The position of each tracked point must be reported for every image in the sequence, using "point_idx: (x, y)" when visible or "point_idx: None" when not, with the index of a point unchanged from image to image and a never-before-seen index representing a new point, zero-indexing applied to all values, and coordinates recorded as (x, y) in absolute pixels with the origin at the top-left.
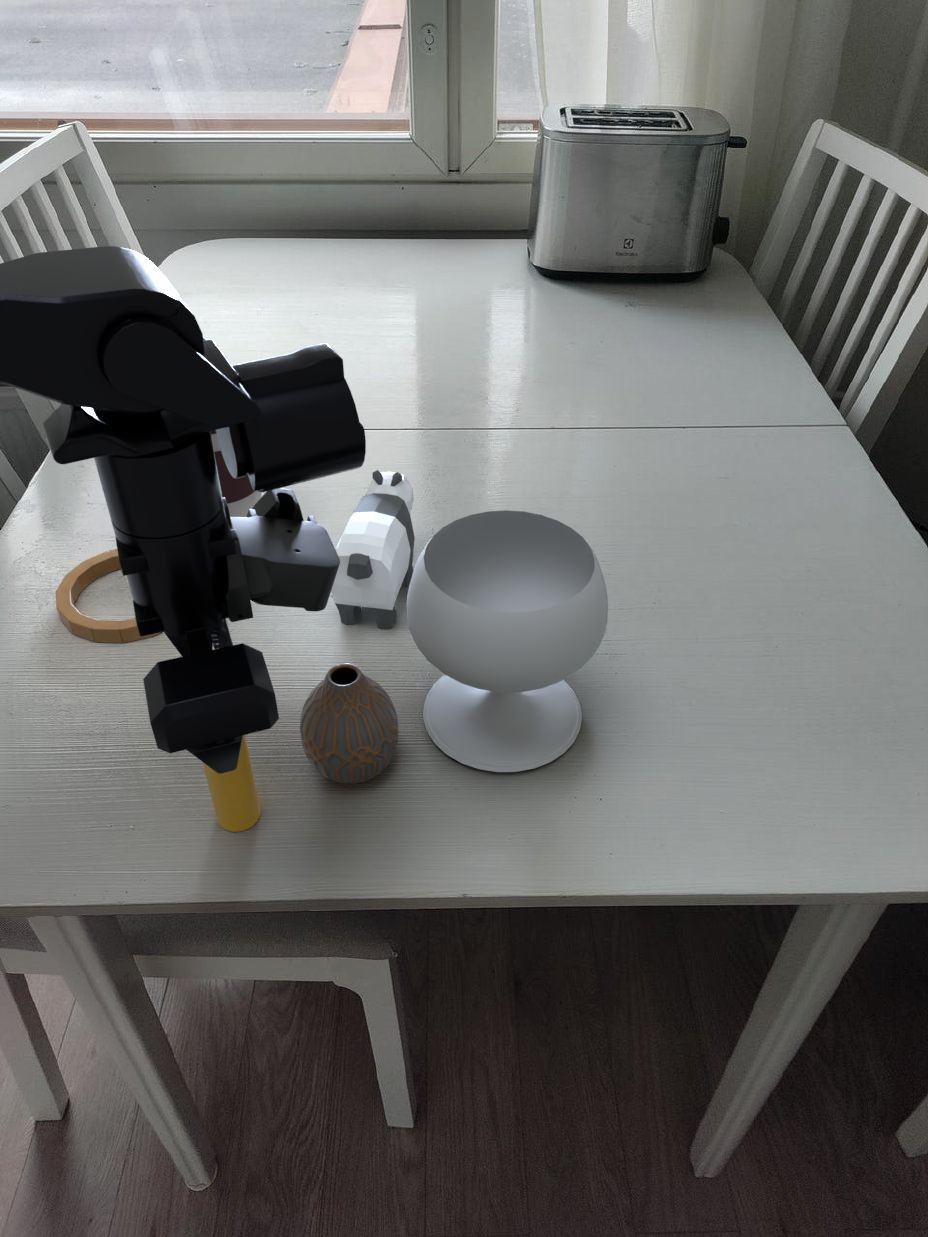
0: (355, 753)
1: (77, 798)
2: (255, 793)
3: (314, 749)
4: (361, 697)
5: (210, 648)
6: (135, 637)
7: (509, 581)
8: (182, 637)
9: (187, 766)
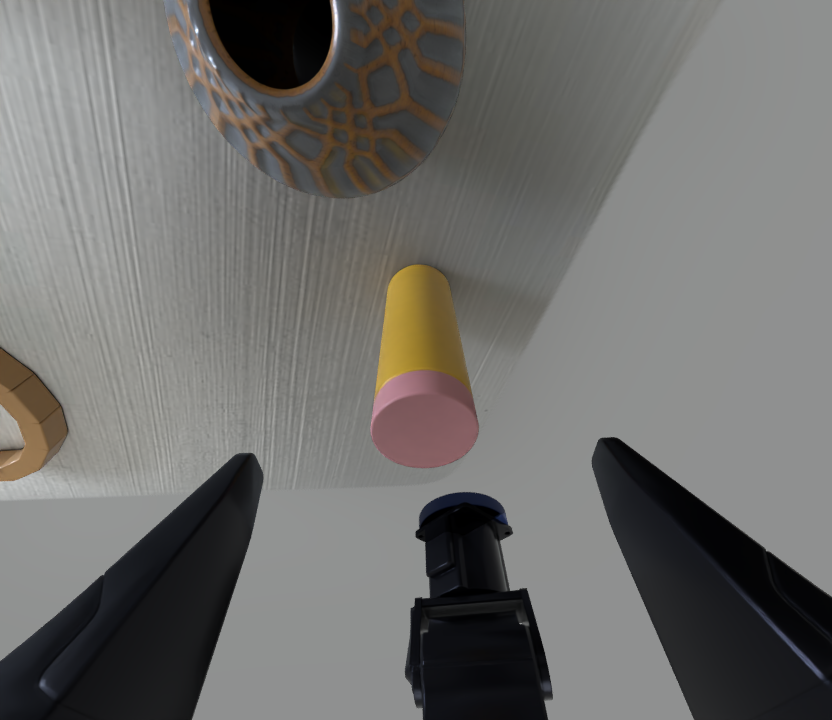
0: (463, 60)
1: (343, 445)
2: (433, 288)
3: (407, 175)
4: None
5: (218, 509)
6: (45, 395)
7: None
8: (211, 607)
9: (312, 347)
